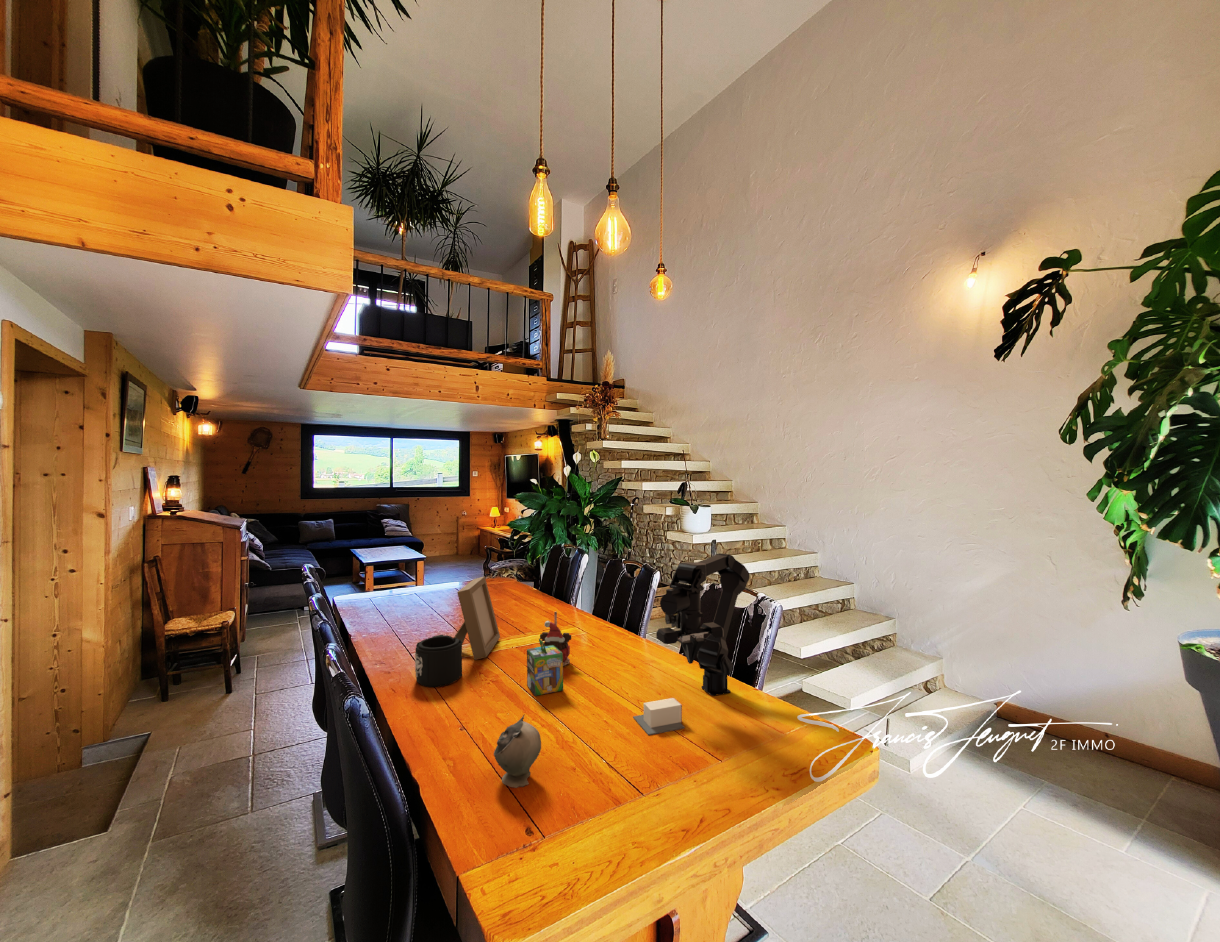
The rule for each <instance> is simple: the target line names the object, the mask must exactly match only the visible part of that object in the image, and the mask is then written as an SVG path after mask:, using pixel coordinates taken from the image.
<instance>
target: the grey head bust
mask: <svg viewBox="0 0 1220 942" xmlns="http://www.w3.org/2000/svg"><path fill="white" fill-rule="evenodd" d="M524 719H525V714H523V715H522V717H521V718H520V719H519V720H518V721H516V722H515V723H514V724H510V725H509V726H507V727H506V728H505V730H504V731H502V732H501V733H500V735H499V737H498V739H497V741H496V745H497V746H496V747H495V749H494V751H493V757H494V759H495V761H496V763H497V765H498V766H499V767H500V768H501V769H502V770H503V771H504V772H505V774H503V776H502V777H501V782H502V784H504V785H505V786H508V787H509V788H515V789H517V788H524V787H525V786H528V785H529V784H530V783H529V781H528V778H529V777H530V776H531V775H532V774H531V771H530V769H531V768H532V765H533V764H534V763H535V761H536V760H537V759H538V757H539V755H540V753H541V750H542V739H541V735H540V732H539V730H538V729H537V728H536V727H535V726H533V725H532V724H530V723H528V722H526V721H524Z"/></svg>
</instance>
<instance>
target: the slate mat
mask: <svg viewBox="0 0 1220 942" xmlns="http://www.w3.org/2000/svg"><path fill="white" fill-rule="evenodd" d="M632 718H633V719H634V721H636V723H637V724H638V725H639V727H640V728H641V729H642V730H643V731H644V732H645V733H646V734H647V736H652V735H657V734H662V733H666V732H667V733H668V732H673V731H678V730H682V729H683V730H684V729H686V727H685V726H684V725H683V724H682V722H679V723H673V724H668V725H663V726H657V727H652V728H651V727H650V726H649V725H648V724H647V723H646V722H645V721H644V714H638V715H633V716H632Z"/></svg>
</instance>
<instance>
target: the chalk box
mask: <svg viewBox="0 0 1220 942" xmlns="http://www.w3.org/2000/svg"><path fill="white" fill-rule="evenodd" d="M538 642H539V645H540V646H537V647H532V648H527V649H526V674H527V675H526V676H527V677H526V685H527V687H528V688H529V690H530V691H531V693H532V694H533V696H534V697H536V696H542V695H546V694H551V693H556V692H562V691H564V666H563V654H562V652H561V651H560V650H559V649H557V648H556V647H555V646H554V645H551V646H545V645H544V641H542V639H540V638H538Z"/></svg>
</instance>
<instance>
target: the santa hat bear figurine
mask: <svg viewBox="0 0 1220 942" xmlns="http://www.w3.org/2000/svg"><path fill="white" fill-rule="evenodd" d="M557 614H558V612H557V611H554V615H553V617H554V622H552V621H550V620H546V621H545V622H544V627H545V628H549V631H543V632H542V633H540V635H539V639H540V640H542V641H543V643H544V645H545V646H551V645H554V646H555V647H556V648H557V649H559V650H560V651H561V652H562V654H563V667H565V666H566V665H569V664H570V661H571V659H570V658H569V656H570V653H571V652H570V651H571V646H570V645H569V642H570V641H571V640H572V634H570V632H562V630H561V628H559V627H558V621H557V620H558V619H557V618H558V615H557Z"/></svg>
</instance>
